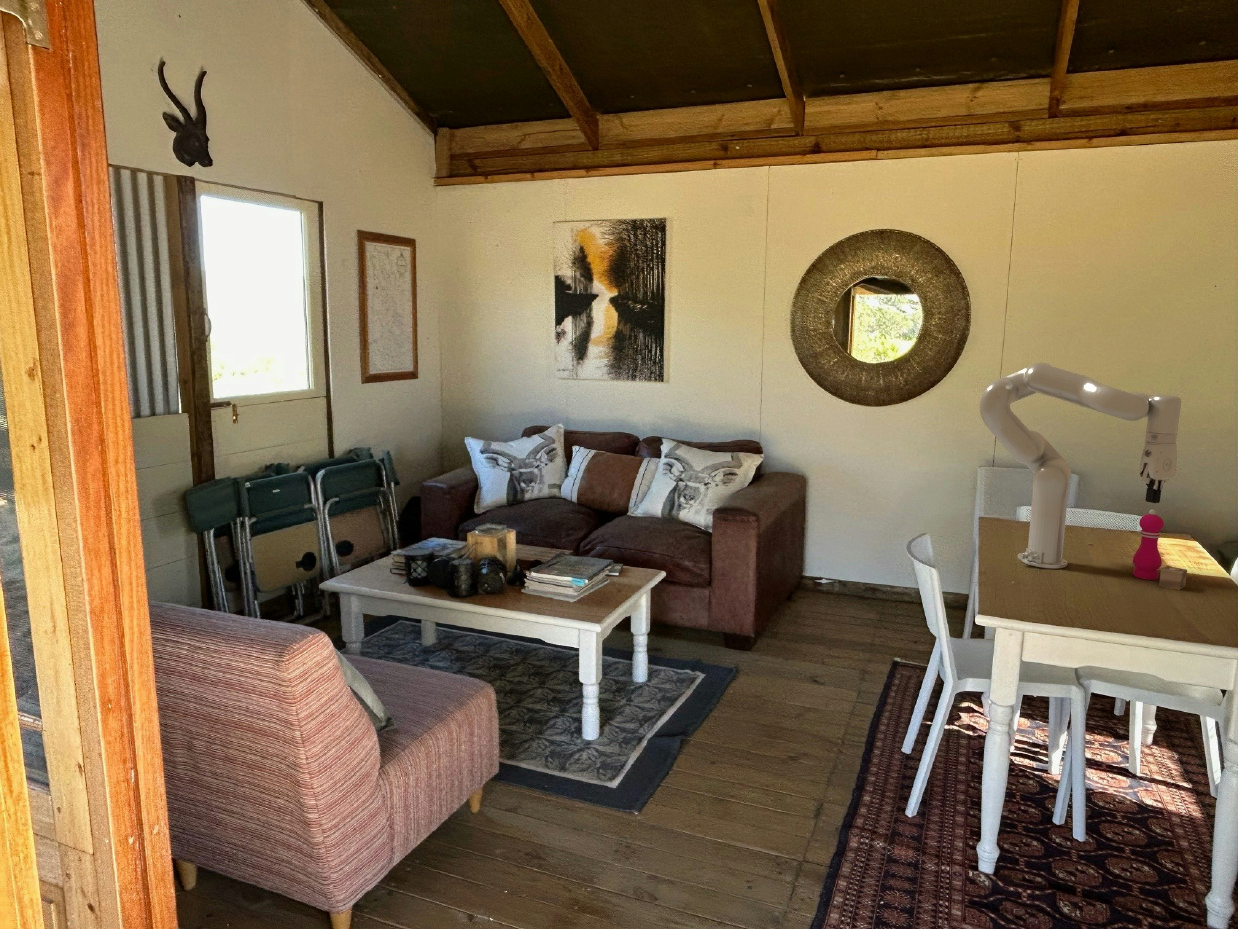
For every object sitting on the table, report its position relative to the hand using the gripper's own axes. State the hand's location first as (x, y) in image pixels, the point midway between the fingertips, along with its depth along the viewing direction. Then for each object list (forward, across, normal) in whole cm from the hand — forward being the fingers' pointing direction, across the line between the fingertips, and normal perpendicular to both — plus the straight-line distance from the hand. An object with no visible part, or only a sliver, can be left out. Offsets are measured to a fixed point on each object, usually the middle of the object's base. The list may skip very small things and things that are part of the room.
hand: (1152, 502), depth 249 cm
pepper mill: (+22, 0, -1) cm, 22 cm away
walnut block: (+22, -2, -10) cm, 24 cm away
